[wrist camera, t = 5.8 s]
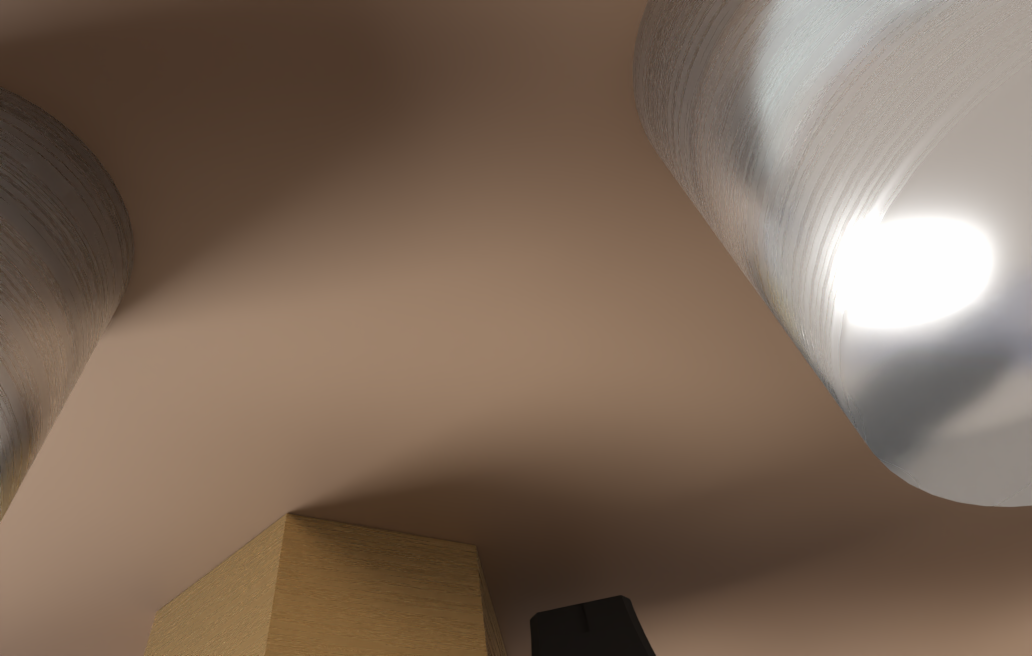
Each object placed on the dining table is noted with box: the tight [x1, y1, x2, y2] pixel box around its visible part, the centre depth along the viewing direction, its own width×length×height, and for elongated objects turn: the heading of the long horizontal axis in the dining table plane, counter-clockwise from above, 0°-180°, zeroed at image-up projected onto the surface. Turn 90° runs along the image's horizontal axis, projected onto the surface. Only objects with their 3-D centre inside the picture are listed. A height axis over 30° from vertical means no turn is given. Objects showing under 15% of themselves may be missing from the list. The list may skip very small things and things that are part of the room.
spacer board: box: [0, 0, 1032, 656], centre depth 12 cm, size 18×30×1 cm, turn 100°
